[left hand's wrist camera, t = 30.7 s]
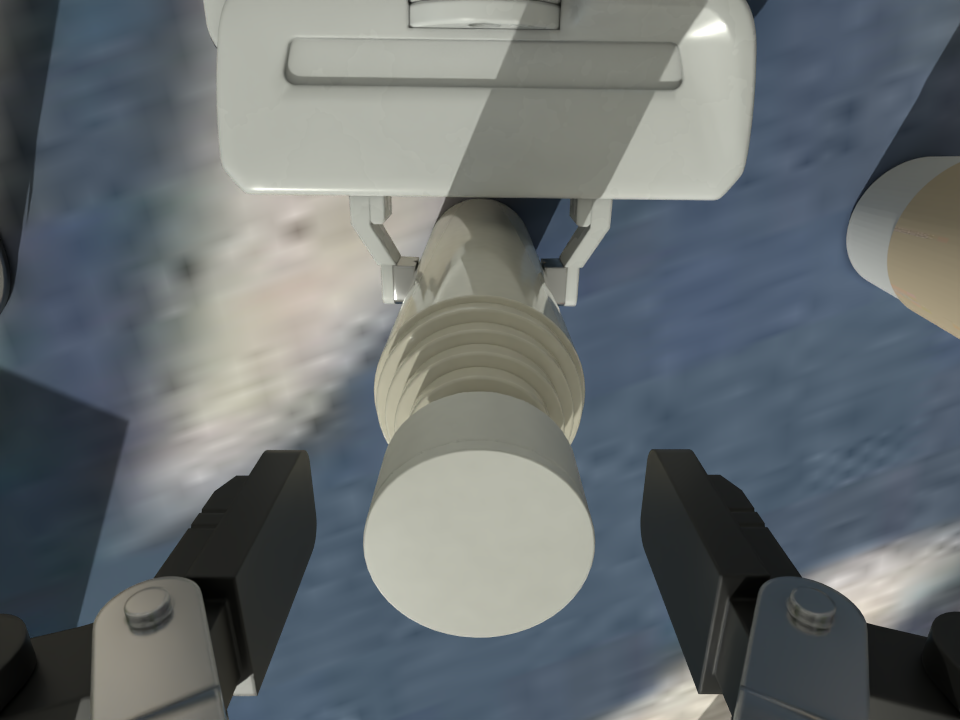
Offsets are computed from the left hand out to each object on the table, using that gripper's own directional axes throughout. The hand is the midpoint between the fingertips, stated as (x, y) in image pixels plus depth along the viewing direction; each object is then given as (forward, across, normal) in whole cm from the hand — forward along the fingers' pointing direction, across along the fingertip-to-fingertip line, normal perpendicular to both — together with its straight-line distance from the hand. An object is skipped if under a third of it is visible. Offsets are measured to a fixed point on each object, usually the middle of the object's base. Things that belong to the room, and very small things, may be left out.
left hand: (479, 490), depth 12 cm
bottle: (+22, 0, 0) cm, 22 cm away
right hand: (+16, 0, -1) cm, 16 cm away
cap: (-1, 0, 0) cm, 1 cm away
